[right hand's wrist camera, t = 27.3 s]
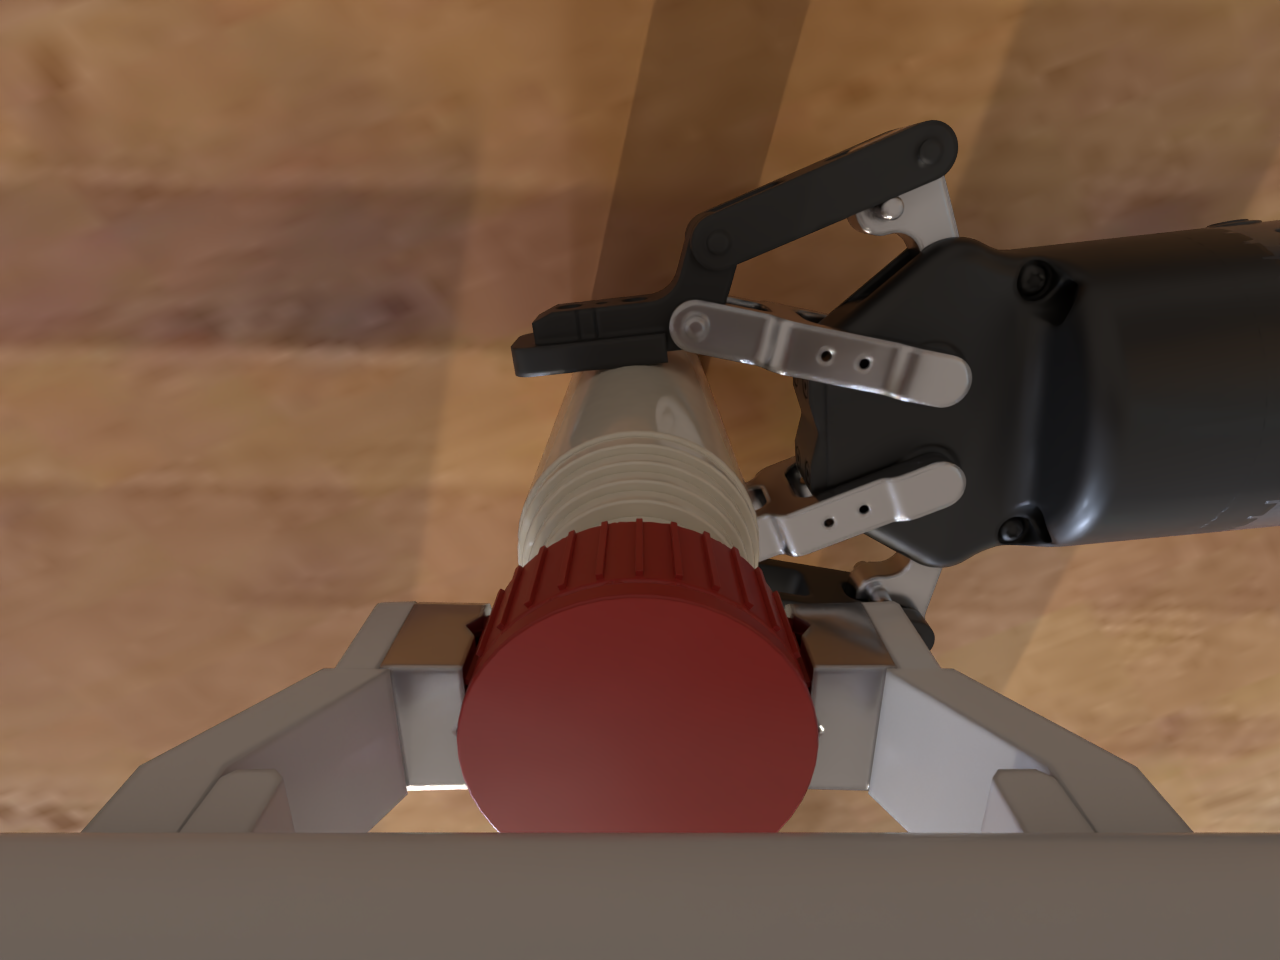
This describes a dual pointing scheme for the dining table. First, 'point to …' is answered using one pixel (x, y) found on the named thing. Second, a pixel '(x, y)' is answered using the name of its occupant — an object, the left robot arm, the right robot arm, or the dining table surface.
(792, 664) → the cap
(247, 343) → the dining table surface
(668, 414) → the bottle
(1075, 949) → the right robot arm
